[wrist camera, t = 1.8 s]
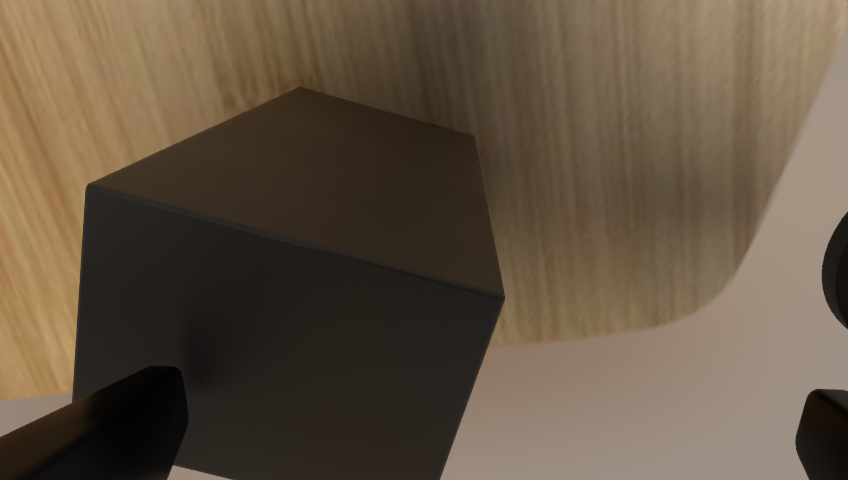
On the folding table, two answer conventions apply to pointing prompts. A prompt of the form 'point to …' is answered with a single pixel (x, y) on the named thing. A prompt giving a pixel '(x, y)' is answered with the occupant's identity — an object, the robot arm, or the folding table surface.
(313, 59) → the folding table surface
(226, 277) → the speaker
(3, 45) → the folding table surface
